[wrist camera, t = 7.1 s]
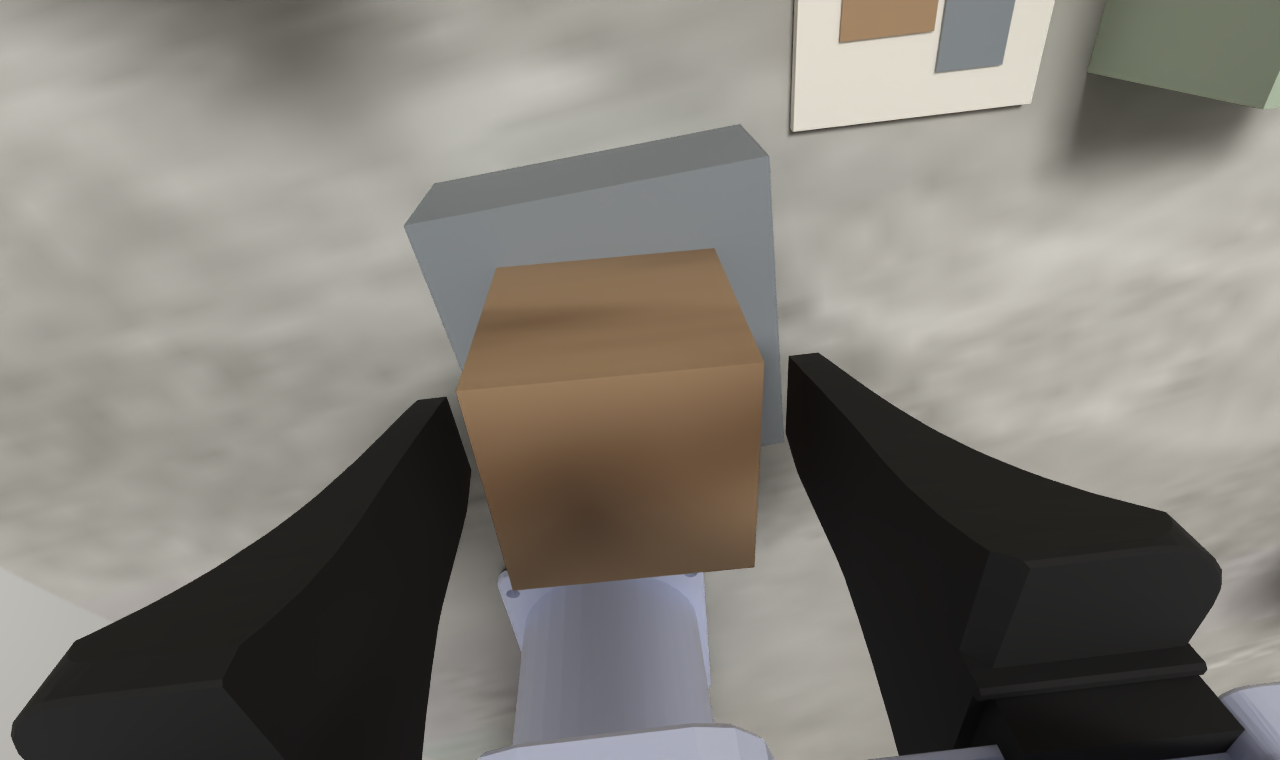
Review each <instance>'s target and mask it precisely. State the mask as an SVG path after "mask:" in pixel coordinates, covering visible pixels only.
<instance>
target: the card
mask: <svg viewBox="0 0 1280 760" xmlns="http://www.w3.org/2000/svg"><path fill="white" fill-rule="evenodd" d="M1054 2H1055V0H795V1H794V31H793V61H792V91H791V121H790V129H791V130H792V131H793V132H796V131H804V130H812V129H821V128H829V127H837V126H846V125H854V124H862V123H871V122H879V121H887V120H896V119H904V118H913V117H921V116H929V115H938V114H946V113H954V112H963V111H971V110H979V109H988V108H996V107H1005V106H1013V105H1021V104H1030V103H1031V100H1032V96H1033V92H1034V88H1035V83H1036V79H1037V75H1038V70H1039V66H1040V62H1041V58H1042V53H1043V49H1044V45H1045V40H1046V36H1047V32H1048V28H1049V23H1050V19H1051V15H1052V11H1053V6H1054Z"/></svg>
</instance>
